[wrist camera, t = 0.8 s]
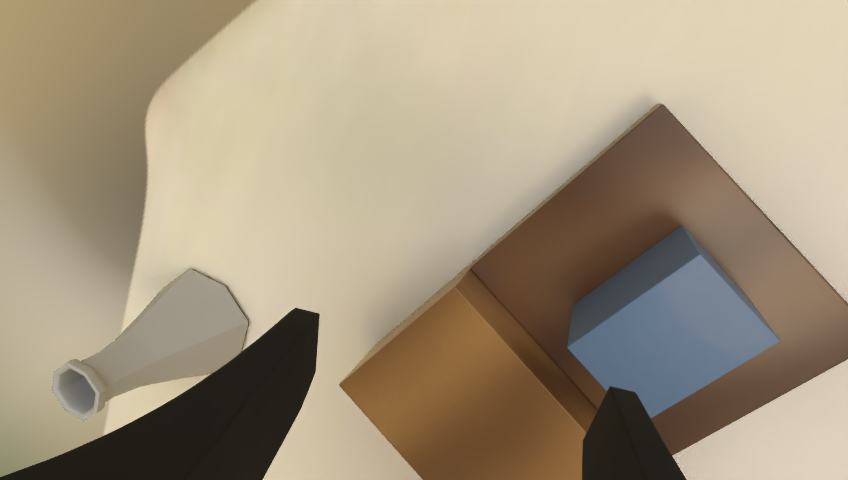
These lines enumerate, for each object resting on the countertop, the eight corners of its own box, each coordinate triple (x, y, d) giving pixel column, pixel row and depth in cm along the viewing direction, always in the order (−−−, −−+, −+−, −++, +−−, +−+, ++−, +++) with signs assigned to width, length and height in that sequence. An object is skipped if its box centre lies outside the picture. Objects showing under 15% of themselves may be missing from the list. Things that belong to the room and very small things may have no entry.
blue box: (747, 296, 25) (781, 341, 20) (631, 370, 27) (637, 426, 22) (682, 224, 25) (700, 253, 20) (572, 305, 27) (566, 347, 23)
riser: (862, 323, 25) (920, 373, 21) (525, 515, 33) (512, 582, 29) (658, 103, 26) (670, 103, 21) (374, 346, 34) (338, 385, 29)
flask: (188, 249, 36) (48, 299, 27) (267, 320, 36) (151, 397, 27) (147, 320, 39) (6, 388, 30) (219, 387, 39) (98, 478, 29)
